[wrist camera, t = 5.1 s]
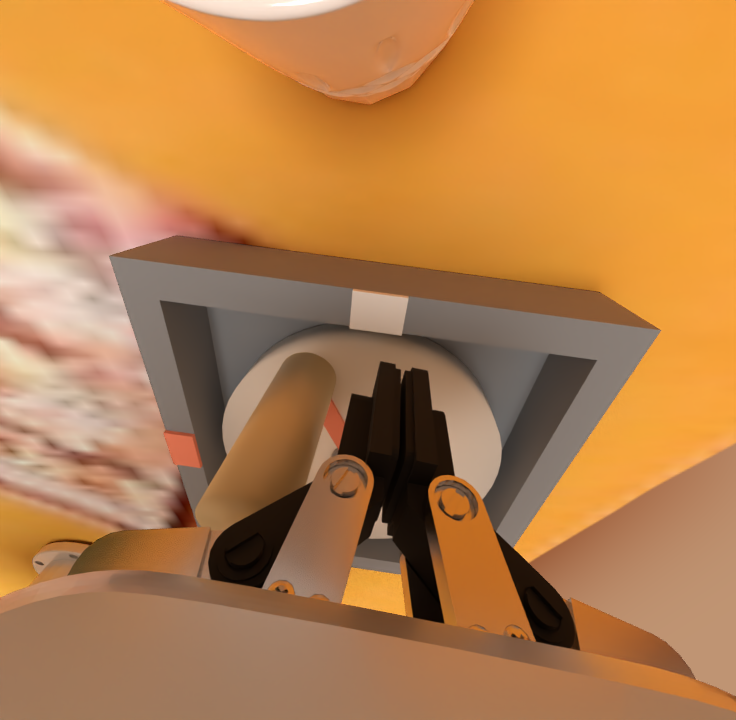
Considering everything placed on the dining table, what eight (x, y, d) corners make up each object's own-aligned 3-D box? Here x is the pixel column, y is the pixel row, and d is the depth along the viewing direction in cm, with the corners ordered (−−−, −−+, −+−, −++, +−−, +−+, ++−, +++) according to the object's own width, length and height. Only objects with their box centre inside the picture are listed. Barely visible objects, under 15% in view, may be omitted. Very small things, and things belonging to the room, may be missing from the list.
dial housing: (474, 530, 25) (486, 590, 21) (229, 494, 25) (201, 547, 22) (599, 292, 14) (664, 333, 11) (175, 235, 15) (104, 256, 11)
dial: (510, 492, 20) (577, 688, 13) (308, 522, 24) (266, 686, 17) (457, 278, 13) (534, 425, 6) (186, 369, 17) (17, 528, 10)
